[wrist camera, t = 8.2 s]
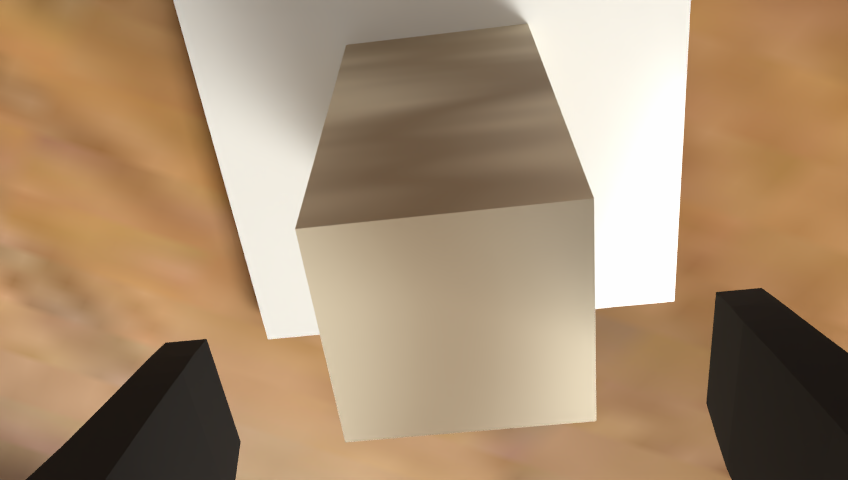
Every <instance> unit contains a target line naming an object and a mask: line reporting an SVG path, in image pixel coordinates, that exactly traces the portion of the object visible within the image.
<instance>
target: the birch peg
mask: <svg viewBox="0 0 848 480" xmlns="http://www.w3.org/2000/svg"><path fill="white" fill-rule="evenodd" d="M295 231H296V235H297V240H298V244H299V248H300V252H301V257H302V261H303V265H304V269H305V274H306V278H307V282H308V286H309V290H310V295H311V299H312V303H313V307H314V312H315V316H316V320H317V324H318V329H319V333H320V337H321V341H322V345H323V350H324V354H325V358H326V362H327V367H328V371H329V375H330V379H331V384H332V388H333V392H334V396H335V401H336V405H337V409H338V413H339V417H340V422H341V426H342V430H343V434H344V439H345V442H355V441H366V440H378V439H390V438H402V437H414V436H425V435H437V434H449V433H461V432H472V431H484V430H496V429H508V428H519V427H531V426H543V425H555V424H567V423H578V422H590V421H596V347H595V244H594V197H593V194H592V192H591V189H590V186H589V184H588V181H587V178H586V176H585V173H584V171H583V168H582V165H581V163H580V160H579V157H578V155H577V152H576V149H575V147H574V144H573V141H572V139H571V136H570V134H569V131H568V128H567V126H566V123H565V120H564V118H563V115H562V112H561V110H560V107H559V105H558V102H557V99H556V97H555V94H554V91H553V89H552V86H551V83H550V81H549V78H548V76H547V73H546V70H545V68H544V65H543V62H542V60H541V57H540V54H539V52H538V49H537V46H536V44H535V41H534V39H533V36H532V33H531V31H530V28H529V25H528V24H520V25H511V26H503V27H494V28H486V29H477V30H468V31H460V32H451V33H443V34H434V35H426V36H417V37H409V38H400V39H392V40H383V41H375V42H366V43H358V44H349V45H346V47H345V51H344V54H343V58H342V62H341V65H340V69H339V72H338V76H337V80H336V83H335V87H334V90H333V94H332V98H331V101H330V105H329V108H328V112H327V116H326V119H325V123H324V126H323V130H322V134H321V137H320V141H319V144H318V148H317V152H316V155H315V159H314V162H313V166H312V170H311V173H310V177H309V180H308V184H307V188H306V191H305V195H304V198H303V202H302V206H301V209H300V213H299V217H298V220H297V224H296V227H295Z"/></svg>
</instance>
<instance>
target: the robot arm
mask: <svg viewBox="0 0 848 480" xmlns="http://www.w3.org/2000/svg"><path fill="white" fill-rule="evenodd" d="M707 407H708V410H709V413H710V417H711V420H712V423H713V427H714V430H715V433H716V437H717V440H718V443H719V446H720V449H721V452H722V455H723V458H724V461H725V464H726V467H727V470H728V472H729V474H730V477H731V479H732V480H848V353H847V352H846V351H845V350H843V349H842V348H841V347H839V346H838V345H836V344H835V343H834V342H832V341H831V340H830V339H829V338H827V337H826V336H825V335H823V334H822V333H821V332H819V331H818V330H817V329H815V328H814V327H813V326H811V325H810V324H809V323H807V322H806V321H805V320H803V319H802V318H801V317H800V316H798V315H797V314H796V313H794V312H793V311H792V310H790V309H789V308H788V307H786V306H785V305H784V304H783V303H781V302H780V301H779V300H777V299H776V298H775V297H773V296H772V295H770V294H769V293H768V292H766V291H765V290H764V289H762V288H757V289H746V290H735V291H725V292H716V300H715V312H714V323H713V334H712V346H711V357H710V369H709V380H708V391H707ZM239 449H240V439H239V436H238V433H237V430H236V427H235V424H234V421H233V418H232V415H231V412H230V409H229V406H228V403H227V400H226V397H225V394H224V391H223V388H222V384H221V381H220V378H219V375H218V372H217V369H216V366H215V363H214V360H213V357H212V354H211V351H210V348H209V345H208V342H207V339H202V340H191V341H180V342H169V343H165V344H164V345H163V346H162V347H161V348H160V349H158V350H157V351H156V352H155V353H154V354H153V355H152V356H151V357H150V358H149V359H148V360H147V361H146V362H145V363H144V364H143V365H142V366H141V367H140V368H139V369H138V370H137V371H136V372H135V373H134V374H133V375H132V376H131V377H130V378H129V379H128V380H127V381H126V383H125V384H124V385H123V386H122V387H121V388H120V389H119V390H118V391H117V392H116V393H115V394H114V395H113V396H112V397H111V398H110V399H109V400H108V401H107V402H106V403H105V404H104V405H103V406H102V407H101V408H100V409H99V410H98V411H97V412H96V413H95V414H94V415H93V416H92V417H91V418H90V419H89V420H88V421H87V422H86V423H85V424H84V425H83V426H82V427H81V428H80V429H79V430H78V431H77V432H76V433H75V434H74V435H73V436H72V437H71V438H70V439H69V440H68V441H67V442H66V443H65V444H64V445H63V446H62V447H61V448H60V449H59V450H58V451H57V452H55V453H54V454H53V455H52V456H51V457H50V458H49V459H48V460H47V461H46V462H45V463H44V464H42V465H41V466H40V467H39V468H38V469H37V470H36V471H35V472H34V473H33V474H32V475H31V476H29V477H28V478H27V479H26V480H235V478H236V471H237V463H238V456H239Z"/></svg>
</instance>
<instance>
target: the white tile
mask: <svg viewBox="0 0 848 480" xmlns="http://www.w3.org/2000/svg"><path fill="white" fill-rule="evenodd" d="M173 1H174V4H175V8H176V12H177V15H178V19H179V22H180V26H181V30H182V33H183V37H184V40H185V44H186V47H187V51H188V55H189V58H190V62H191V65H192V69H193V73H194V76H195V80H196V83H197V87H198V90H199V94H200V98H201V101H202V105H203V108H204V112H205V115H206V119H207V123H208V126H209V130H210V133H211V137H212V141H213V144H214V148H215V151H216V155H217V158H218V162H219V166H220V169H221V173H222V176H223V180H224V184H225V187H226V191H227V194H228V198H229V201H230V205H231V209H232V212H233V216H234V219H235V223H236V226H237V230H238V234H239V237H240V241H241V244H242V248H243V252H244V255H245V259H246V262H247V266H248V269H249V273H250V277H251V280H252V284H253V287H254V291H255V295H256V298H257V302H258V305H259V309H260V312H261V316H262V320H263V323H264V327H265V330H266V334H267V338H268V339H276V338H287V337H298V336H308V335H319V334H320V333H319V329H318V324H317V320H316V316H315V312H314V307H313V303H312V299H311V295H310V290H309V286H308V282H307V278H306V274H305V269H304V265H303V261H302V257H301V252H300V248H299V244H298V240H297V235H296V231H295V227H296V224H297V220H298V217H299V213H300V209H301V206H302V202H303V198H304V195H305V191H306V188H307V184H308V180H309V177H310V173H311V170H312V166H313V162H314V159H315V155H316V152H317V148H318V144H319V141H320V137H321V134H322V130H323V126H324V123H325V119H326V116H327V112H328V108H329V105H330V101H331V98H332V94H333V90H334V87H335V83H336V80H337V76H338V72H339V69H340V65H341V62H342V58H343V54H344V51H345V47H346V45H349V44H358V43H366V42H375V41H383V40H392V39H400V38H409V37H417V36H426V35H434V34H443V33H451V32H460V31H468V30H477V29H486V28H494V27H503V26H511V25H520V24H528V25H529V28H530V31H531V33H532V36H533V39H534V41H535V44H536V46H537V49H538V52H539V54H540V57H541V60H542V62H543V65H544V68H545V70H546V73H547V76H548V78H549V81H550V83H551V86H552V89H553V91H554V94H555V97H556V99H557V102H558V105H559V107H560V110H561V112H562V115H563V118H564V120H565V123H566V126H567V128H568V131H569V134H570V136H571V139H572V141H573V144H574V147H575V149H576V152H577V155H578V157H579V160H580V163H581V165H582V168H583V171H584V173H585V176H586V178H587V181H588V184H589V186H590V189H591V192H592V194H593V197H594V244H595V309H597V308H608V307H619V306H629V305H640V304H651V303H662V302H672V301H674V298H675V280H676V262H677V243H678V225H679V207H680V188H681V170H682V152H683V133H684V115H685V97H686V78H687V60H688V42H689V23H690V5H691V0H173Z"/></svg>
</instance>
